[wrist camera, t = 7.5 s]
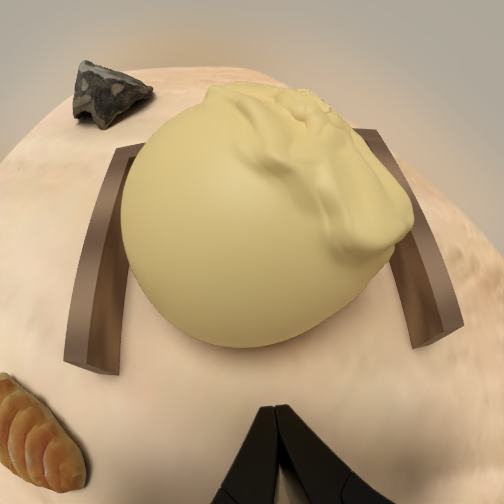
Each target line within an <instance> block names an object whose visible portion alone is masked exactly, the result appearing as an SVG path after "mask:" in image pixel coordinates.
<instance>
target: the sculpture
mask: <svg viewBox="0 0 504 504" xmlns="http://www.w3.org/2000/svg"><path fill="white" fill-rule="evenodd" d="M413 224H414V214H413V208H412V204H411V201H410V198H409V196H408V195H407V193H406V192H405V190H404V189H403V188H402V187H401V185H400V184H399V183H398V182H397V180H396V179H395V178H394V177H393V176H392V174H391V173H390V172H389V171H388V170H387V169H386V168H385V166H384V165H383V164H382V163H381V162H380V161H379V160H378V159H377V157H376V156H375V155H374V154H373V153H372V151H371V150H370V148H369V147H368V145H367V144H366V142H365V141H364V139H363V138H362V137H361V136H360V135H359V134H357V133H356V132H355V131H354V130H353V129H352V128H351V126H350V125H349V124H348V123H347V122H346V121H345V120H344V119H343V118H342V117H341V116H340V115H339V114H338V113H336V112H335V111H333V110H332V108H331V107H330V105H329V104H326V103H325V102H324V101H323V99H321V98H320V97H318V96H317V95H315V94H314V93H313V92H311V91H310V90H308V89H297V90H292V89H281V88H277V87H273V86H269V85H264V84H258V83H252V82H243V81H238V82H233V83H229V84H227V85H225V86H218V85H213V86H210V87H209V88H208V90H207V93H206V96H205V98H204V100H203V102H202V103H200V104H198V105H195V106H193V107H191V108H189V109H187V110H185V111H183V112H181V113H180V114H178V115H176V116H175V117H173V118H172V119H171V120H169V121H168V122H167V123H165V124H164V125H163V126H162V127H160V128H159V129H158V130H157V131H156V132H155V133H154V134H153V135H152V136H151V137H150V138H149V140H148V141H147V142H146V143H145V145H144V146H143V147H142V149H141V150H140V152H139V153H138V155H137V156H136V158H135V160H134V162H133V164H132V166H131V168H130V171H129V173H128V176H127V179H126V182H125V186H124V190H123V195H122V203H121V230H122V238H123V243H124V247H125V251H126V255H127V258H128V261H129V264H130V266H131V269H132V271H133V274H134V276H135V278H136V280H137V282H138V284H139V285H140V287H141V289H142V290H143V292H144V293H145V295H146V296H147V298H148V299H149V301H150V302H151V303H152V304H153V306H154V307H155V308H156V309H157V310H158V311H159V312H160V313H161V314H162V315H163V316H164V317H165V318H166V319H167V320H168V321H169V322H170V323H172V324H173V325H174V326H176V327H177V328H178V329H180V330H181V331H183V332H185V333H186V334H188V335H190V336H192V337H194V338H196V339H198V340H201V341H204V342H207V343H210V344H214V345H218V346H224V347H232V348H252V347H261V346H267V345H271V344H275V343H279V342H282V341H285V340H288V339H291V338H293V337H296V336H298V335H300V334H302V333H304V332H306V331H308V330H309V329H311V328H313V327H314V326H316V325H318V324H319V323H321V322H322V321H324V320H325V319H327V318H329V317H330V316H332V315H333V314H335V313H336V312H338V311H339V310H341V309H342V308H343V307H345V306H346V305H347V304H348V303H350V302H351V301H352V300H353V299H354V298H355V297H356V296H358V295H359V294H360V293H361V291H362V290H363V289H364V288H365V287H366V286H367V284H368V283H369V282H370V280H371V279H372V278H373V277H374V276H375V275H376V274H377V273H378V271H379V270H380V269H381V268H382V267H383V266H384V265H385V264H386V263H387V262H388V261H389V259H390V257H391V255H392V254H393V252H394V249H395V244H396V243H398V242H399V241H401V240H402V239H403V238H404V237H405V236H406V234H407V233H408V232H409V231H410V230H411V229H412V227H413Z"/></svg>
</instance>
